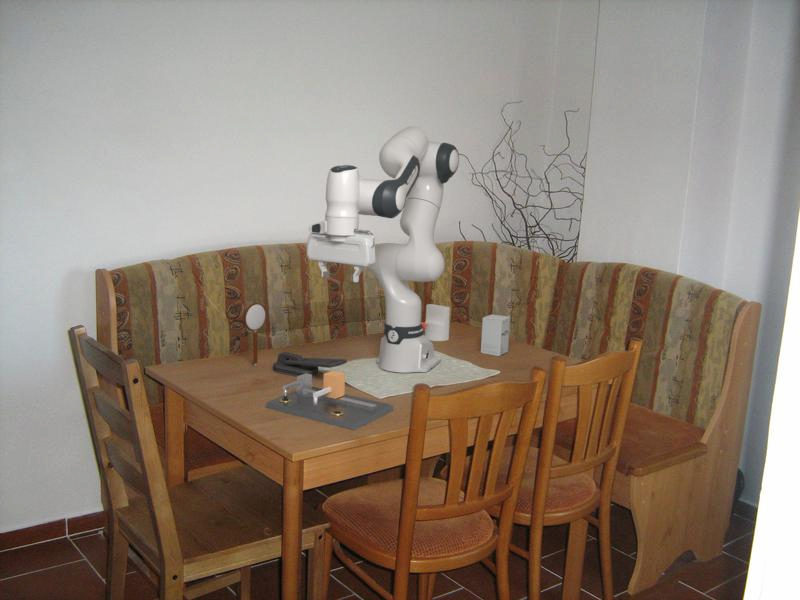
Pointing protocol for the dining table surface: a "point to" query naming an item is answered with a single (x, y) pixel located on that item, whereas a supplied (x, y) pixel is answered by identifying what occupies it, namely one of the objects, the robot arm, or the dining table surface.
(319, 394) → the leg
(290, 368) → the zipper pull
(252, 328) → the magnifying glass
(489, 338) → the supplement box
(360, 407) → the plate
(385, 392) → the dining table surface
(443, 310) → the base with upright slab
